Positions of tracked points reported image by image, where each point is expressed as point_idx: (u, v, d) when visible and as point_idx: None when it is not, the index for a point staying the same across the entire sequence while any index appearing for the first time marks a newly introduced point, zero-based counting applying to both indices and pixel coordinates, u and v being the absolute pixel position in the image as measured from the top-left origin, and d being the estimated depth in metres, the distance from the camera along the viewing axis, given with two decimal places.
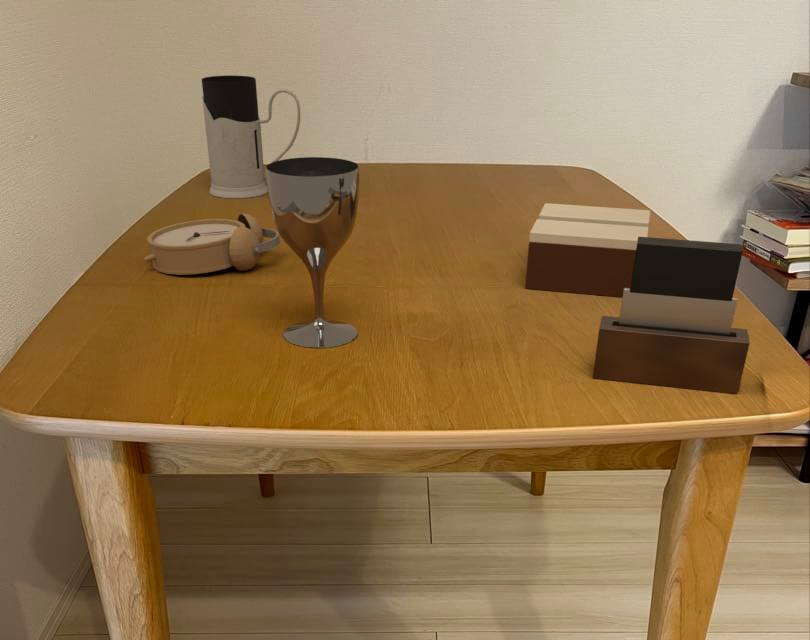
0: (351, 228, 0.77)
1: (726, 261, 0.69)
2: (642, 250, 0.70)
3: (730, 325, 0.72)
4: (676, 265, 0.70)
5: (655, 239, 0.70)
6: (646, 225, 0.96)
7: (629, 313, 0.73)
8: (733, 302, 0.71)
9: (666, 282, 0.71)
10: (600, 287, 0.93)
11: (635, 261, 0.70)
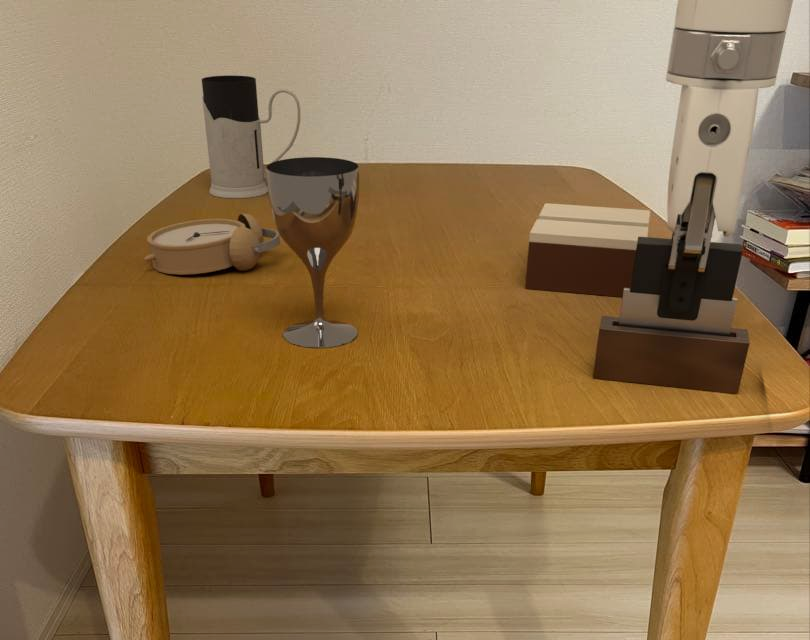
0: (351, 228, 0.77)
1: (726, 261, 0.69)
2: (642, 250, 0.70)
3: (730, 325, 0.72)
4: None
5: (655, 239, 0.70)
6: (646, 225, 0.96)
7: (629, 313, 0.73)
8: (734, 302, 0.71)
9: None
10: (600, 287, 0.93)
11: (635, 261, 0.70)
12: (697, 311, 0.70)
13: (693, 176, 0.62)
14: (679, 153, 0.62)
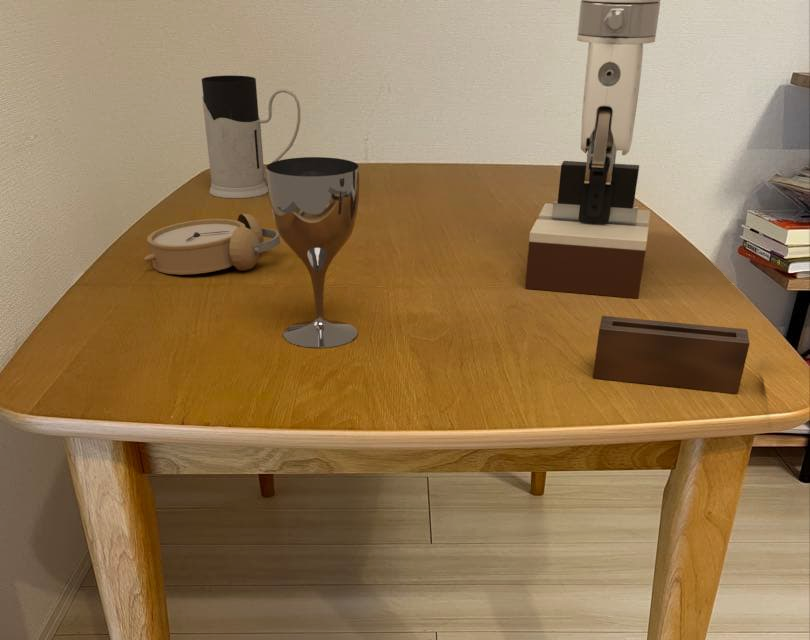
0: (351, 228, 0.77)
1: (627, 177, 0.92)
2: (565, 170, 0.93)
3: None
4: None
5: (575, 162, 0.94)
6: (646, 225, 0.96)
7: None
8: (635, 210, 0.94)
9: None
10: (600, 287, 0.93)
11: (560, 178, 0.94)
12: (608, 216, 0.94)
13: (596, 109, 0.86)
14: (585, 92, 0.85)
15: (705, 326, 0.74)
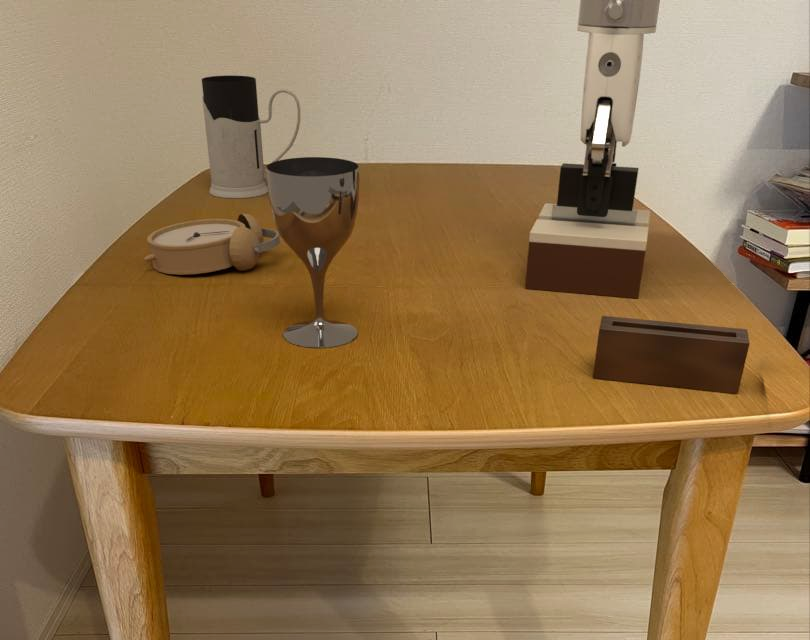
0: (351, 228, 0.77)
1: (626, 179, 0.92)
2: (564, 172, 0.93)
3: None
4: None
5: (575, 164, 0.94)
6: (646, 225, 0.96)
7: None
8: (634, 212, 0.94)
9: None
10: (600, 287, 0.93)
11: (560, 181, 0.94)
12: (607, 209, 0.92)
13: (596, 99, 0.85)
14: (585, 82, 0.85)
15: (705, 326, 0.74)
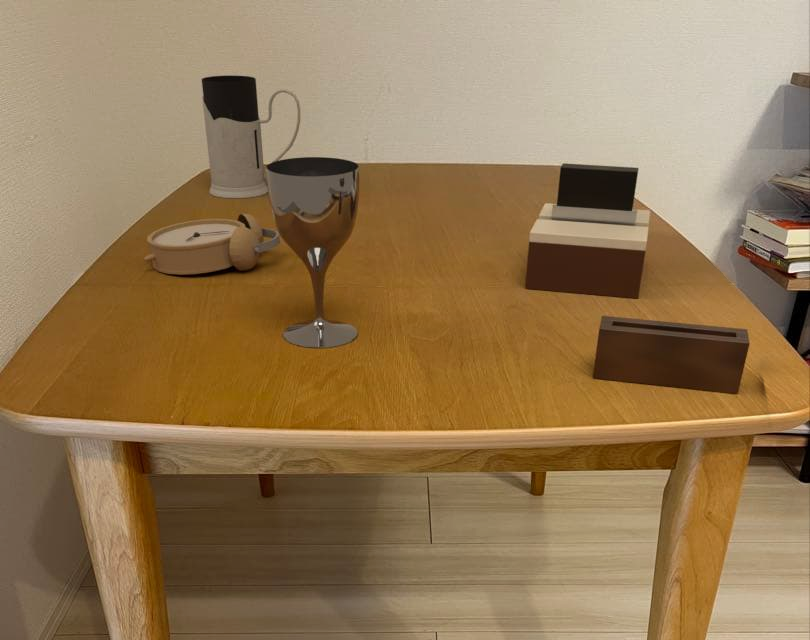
0: (351, 228, 0.77)
1: (626, 179, 0.92)
2: (564, 172, 0.93)
3: None
4: (590, 183, 0.93)
5: (575, 164, 0.94)
6: (646, 225, 0.96)
7: None
8: (634, 212, 0.94)
9: (583, 197, 0.94)
10: (600, 287, 0.93)
11: (559, 181, 0.94)
12: None
13: None
14: None
15: (705, 326, 0.74)
